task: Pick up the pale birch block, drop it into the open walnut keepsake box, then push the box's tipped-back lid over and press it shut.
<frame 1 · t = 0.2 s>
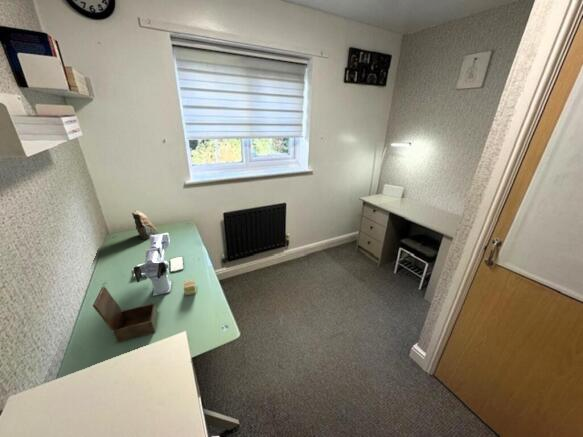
hand: (148, 278, 100), 21 cm above the table, tool horizontal, fingers open, 7 cm apart
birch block: (190, 291, 124), on the table
keepsake box: (139, 326, 103), on the table
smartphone: (176, 264, 146), on the table
box lid: (108, 308, 95), point 14 cm above the table, hinge at 100.0°
owl: (148, 235, 180), on the table
hard drive: (143, 271, 140), on the table
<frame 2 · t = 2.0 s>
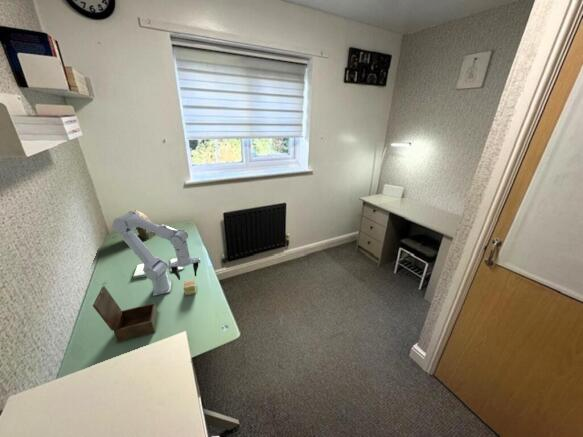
hand: (187, 276, 120), 9 cm above the table, tool pointing down, fingers open, 7 cm apart
nothing on the table moved.
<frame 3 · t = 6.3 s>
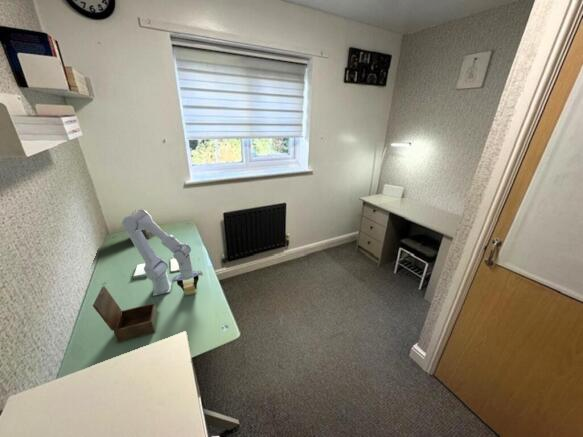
hand: (190, 289, 123), 1 cm above the table, tool pointing down, fingers closed on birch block, 5 cm apart
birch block: (190, 291, 124), on the table, touching gripper
everything else where it was.
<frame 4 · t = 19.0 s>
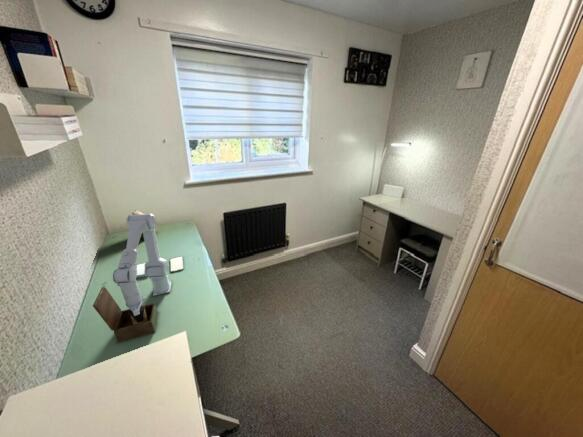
hand: (139, 317, 103), 4 cm above the table, tool pointing down, fingers closed on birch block, 5 cm apart
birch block: (140, 319, 103), point 3 cm above the table, touching gripper
everything else where it was.
when the fingers open (7 cm above the table, at t = 27.5 s): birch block drops 5 cm, resting on keepsake box.
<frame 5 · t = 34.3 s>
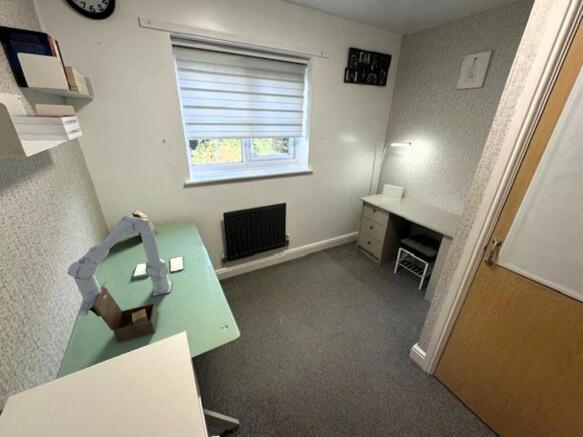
hand: (101, 315, 97), 9 cm above the table, tool pointing down, fingers closed
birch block: (141, 323, 104), point 1 cm above the table, touching keepsake box
box lid: (108, 308, 95), point 14 cm above the table, hinge at 100.0°, touching gripper
everything else where it was.
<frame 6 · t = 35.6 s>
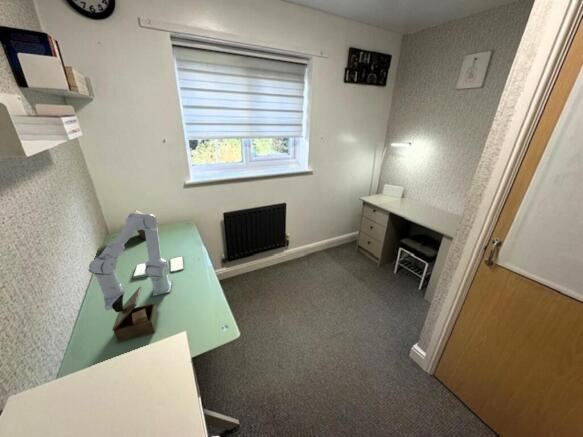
hand: (119, 310, 99), 9 cm above the table, tool pointing down, fingers closed
box lid: (127, 307, 98), point 12 cm above the table, hinge at 44.3°, touching gripper
everything else where it was.
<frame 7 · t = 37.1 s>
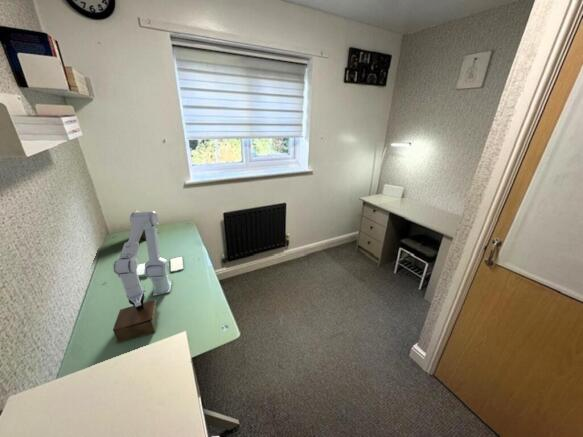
hand: (140, 308, 102), 8 cm above the table, tool pointing down, fingers closed
box lid: (136, 314, 100), point 7 cm above the table, hinge at 4.1°, touching gripper
everything else where it was.
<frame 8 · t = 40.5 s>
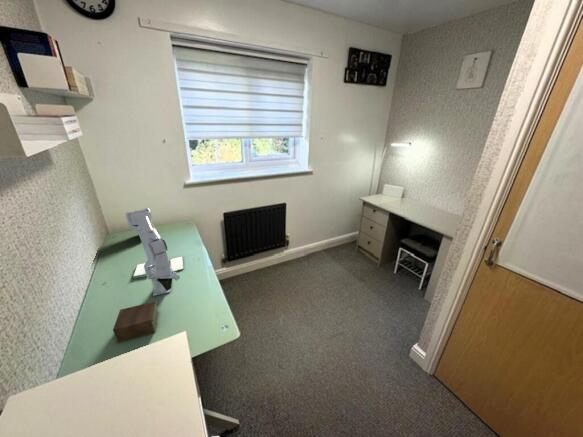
hand: (168, 289, 110), 10 cm above the table, tool pointing down, fingers closed
box lid: (136, 315, 101), point 7 cm above the table, hinge at -0.1°
everything else where it was.
at the end: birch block inside the target area in the keepsake box (1.4 cm from its centre), point 0.7 cm above the keepsake box's base; box lid at +0° (first picture: +100°) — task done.
